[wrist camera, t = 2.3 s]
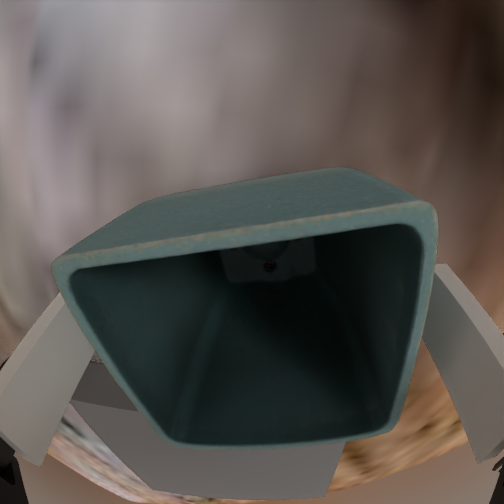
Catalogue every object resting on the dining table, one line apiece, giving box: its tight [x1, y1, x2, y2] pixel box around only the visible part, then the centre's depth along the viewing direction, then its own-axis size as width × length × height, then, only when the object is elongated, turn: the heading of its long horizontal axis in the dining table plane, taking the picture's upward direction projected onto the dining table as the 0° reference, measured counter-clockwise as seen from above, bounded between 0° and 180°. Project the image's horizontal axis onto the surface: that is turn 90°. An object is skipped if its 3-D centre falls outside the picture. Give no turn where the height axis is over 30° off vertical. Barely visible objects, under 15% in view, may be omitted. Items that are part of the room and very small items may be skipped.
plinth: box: [69, 362, 346, 500], centre depth 23 cm, size 20×20×4 cm
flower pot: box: [51, 167, 439, 450], centre depth 11 cm, size 9×9×9 cm
